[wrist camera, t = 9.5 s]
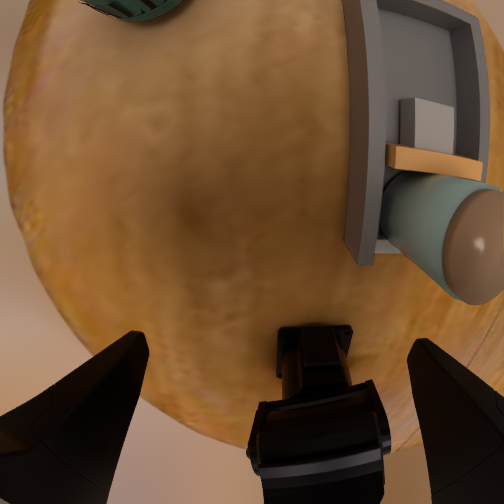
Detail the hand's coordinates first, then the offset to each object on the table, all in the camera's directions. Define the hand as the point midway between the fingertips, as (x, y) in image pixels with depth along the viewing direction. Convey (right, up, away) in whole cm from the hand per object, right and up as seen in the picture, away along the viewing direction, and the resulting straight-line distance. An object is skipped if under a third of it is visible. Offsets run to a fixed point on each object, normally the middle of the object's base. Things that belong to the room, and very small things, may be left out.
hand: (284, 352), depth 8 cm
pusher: (+10, +11, +6) cm, 16 cm away
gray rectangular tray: (+10, +12, +7) cm, 17 cm away
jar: (+10, +6, +8) cm, 14 cm away
